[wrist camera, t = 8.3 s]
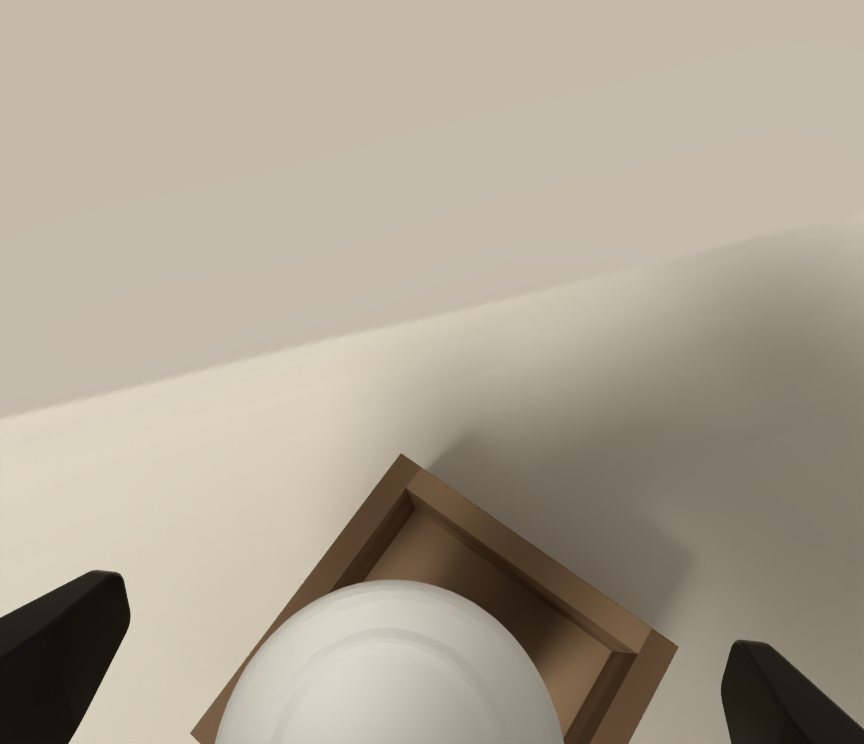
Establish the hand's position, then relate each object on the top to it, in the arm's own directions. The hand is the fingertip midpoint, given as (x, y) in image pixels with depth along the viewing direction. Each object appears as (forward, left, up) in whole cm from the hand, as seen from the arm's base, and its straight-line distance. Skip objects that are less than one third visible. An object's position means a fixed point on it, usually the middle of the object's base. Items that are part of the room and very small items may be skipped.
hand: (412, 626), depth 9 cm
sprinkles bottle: (-1, +1, -13) cm, 13 cm away
